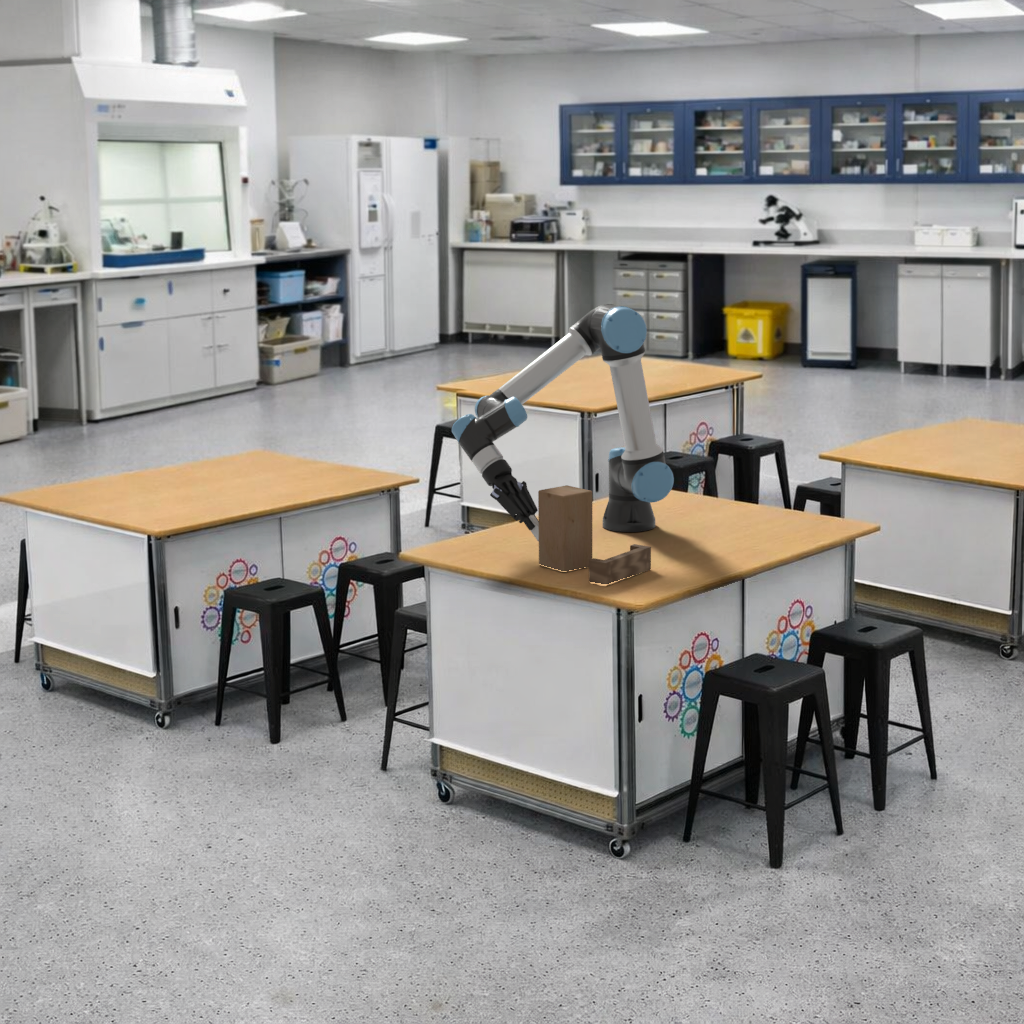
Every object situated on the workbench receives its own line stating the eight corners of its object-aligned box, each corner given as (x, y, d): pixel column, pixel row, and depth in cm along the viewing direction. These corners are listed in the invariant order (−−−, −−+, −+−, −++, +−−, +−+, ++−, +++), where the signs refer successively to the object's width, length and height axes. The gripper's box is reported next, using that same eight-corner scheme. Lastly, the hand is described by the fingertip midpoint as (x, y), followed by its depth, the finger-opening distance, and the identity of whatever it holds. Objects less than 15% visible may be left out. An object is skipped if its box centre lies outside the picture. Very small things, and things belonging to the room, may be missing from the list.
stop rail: (634, 566, 369) (634, 544, 368) (650, 569, 366) (651, 546, 364) (589, 583, 354) (589, 559, 352) (605, 586, 350) (605, 562, 349)
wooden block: (563, 573, 363) (563, 496, 359) (538, 566, 370) (537, 490, 366) (593, 567, 369) (593, 490, 365) (567, 559, 377) (566, 484, 372)
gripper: (500, 471, 385) (549, 541, 379) (468, 479, 376) (518, 551, 369) (516, 454, 381) (566, 524, 374) (484, 461, 371) (535, 534, 365)
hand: (542, 537), depth 372 cm, fingers closed
